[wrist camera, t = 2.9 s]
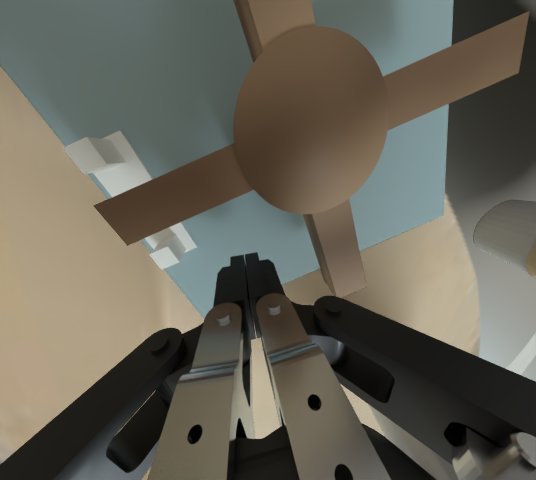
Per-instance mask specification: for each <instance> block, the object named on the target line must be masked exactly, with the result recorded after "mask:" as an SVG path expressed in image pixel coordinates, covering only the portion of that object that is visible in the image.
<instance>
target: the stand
mask: <svg viewBox="0 0 536 480" xmlns="http://www.w3.org/2000/svg"><path fill="white" fill-rule="evenodd" d="M311 3H312V8H313V14H314V19H315V24H316V26H326V27H330V28H335V29H338V30H341V31H343V32H345V33H348V34H349V35H351V36H352V37H354V38H355V39H357V40H358V41H359V42H360V43H361V44H362V45H363V46H364V47H366V48H367V50H368V51H369V52H370V54H371V55H372V56H373V57H374V59H375V61H376V63H377V64H378V66H379V68H380V70H381V73H382V75H383V76H385V75H387V74H390V73H392V72H394V71H396V70H399V69H401V68H403V67H405V66H407V65H410V64H412V63H414V62H416V61H419V60H421V59H423V58H425V57H428V56H430V55H432V54H434V53H437V52H439V51H441V50H443V49H446V48H448V47H450V46H451V42H452V21H453V0H311ZM252 65H253V60H252V57H251V54H250V50H249V47H248V44H247V41H246V38H245V35H244V32H243V29H242V26H241V23H240V20H239V17H238V13H237V10H236V7H235V4H234V1H233V0H0V66H1V67H2V68H3V69H4V71H5V72H6V73H7V74H8V76H9V77H10V78H11V79H12V80H13V82H14V83H15V84H16V85H17V87H18V88H19V89H20V90H21V92H22V93H23V94H24V95H25V97H26V98H27V99H28V100H29V102H30V103H31V104H32V105H33V107H34V108H35V109H36V110H37V112H38V113H39V114H40V115H41V117H42V118H43V119H44V120H45V121H46V123H47V124H48V125H49V126H50V128H51V129H52V130H53V131H54V133H55V134H56V135H57V136H58V138H59V139H60V140H61V141H62V143H63V144H64V145H65V147H63V149H64V151H65V152H66V153H67V154H68V156H69V157H70V158H71V159H72V160H73V162H74V163H75V164H76V165H77V167H78V168H79V169H80V170H81V172H82V173H83V174H88V175H89V176H90V177H91V179H92V180H93V181H94V182H95V184H96V185H97V186H98V187H99V189H100V190H101V191H102V192H103V194H104V195H105V196H106V197H107V199H110V198H112V197H114V196H117V195H119V194H121V193H123V192H125V191H128V190H130V189H132V188H134V187H137V186H139V185H141V184H143V183H146V182H148V181H150V180H152V179H155V178H157V177H159V176H161V175H164V174H166V173H168V172H170V171H172V170H175V169H177V168H179V167H181V166H184V165H186V164H188V163H190V162H193V161H195V160H197V159H199V158H202V157H204V156H206V155H208V154H211V153H213V152H215V151H217V150H219V149H222V148H224V147H226V146H228V145H231V144H233V143H234V136H233V121H234V112H235V106H236V102H237V98H238V94H239V91H240V88H241V86H242V83H243V81H244V79H245V77H246V75H247V73H248V71H249V69H250V68H251V66H252ZM448 105H449V104H447V105H445V106H443V107H440V108H438V109H436V110H433V111H431V112H429V113H427V114H424V115H422V116H420V117H418V118H415V119H413V120H411V121H409V122H406V123H404V124H402V125H400V126H397V127H395V128H393V129H390V130H388V131H387V136H386V141H385V144H384V148H383V151H382V153H381V156H380V158H379V161H378V163H377V164H376V166H375V168H374V170H373V172H372V173H371V175H370V176H369V178H368V179H367V180H366V182H365V183H364V184H363V186H362V187H361V188H360V189H359V190H358V191H357V192H356V193H355V194H354V195H352V196H351V197H350V198H349V200H350V205H351V210H352V215H353V220H354V225H355V231H356V236H357V241H358V246H359V251H362V250H364V249H366V248H369V247H371V246H373V245H376V244H378V243H380V242H383V241H385V240H387V239H390V238H392V237H394V236H397V235H399V234H401V233H403V232H406V231H408V230H410V229H413V228H415V227H417V226H420V225H422V224H424V223H427V222H429V221H431V220H434V219H436V218H438V217H441V216H443V214H444V193H445V171H446V170H445V169H446V150H447V128H448V107H449V106H448ZM141 241H142V242H143V243H144V245H145V246H146V247H147V248H148V249H149V251H150V252H151V253H150V254H149V255H150V256H151V257H152V259H153V260H154V261H155V262H156V264H157V265H158V266H159V267H160V268H161V270H163V269H165V271H166V272H167V273H168V274H169V276H170V277H171V278H172V279H173V281H174V282H175V283H176V284H177V286H178V287H179V288H180V289H181V291H182V292H183V293H184V294H185V295H186V297H187V298H188V299H189V300H190V302H191V303H192V304H193V305H194V307H195V308H196V309H197V310H198V312H199V313H200V314H201V315H202V317H203V318H205V317H206V315H207V313H208V312H209V311H210V310H211V309H212V308H213V304H214V296H215V289H216V281H217V274H218V272H219V271H220V270H221V268H222V267H227V266H230V257H232V256H238V255H244V259H245V254H249V253H255V252H258V257H259V261H260V260H266V259H269V260H270V261H271V262H273V263H274V266H275V268H276V271H277V274H278V277H279V279H280V282H281V285H283V284H285V283H288V282H290V281H292V280H295V279H297V278H299V277H301V276H304V275H306V274H308V273H311V272H313V271H315V270H318V269H320V266H319V263H318V260H317V257H316V254H315V251H314V248H313V245H312V242H311V239H310V235H309V232H308V229H307V226H306V223H305V220H304V217H303V214H295V213H290V212H286V211H283V210H281V209H278V208H276V207H274V206H273V205H271V204H269V203H268V202H266V201H265V200H264V199H263V198H262V197H261V196H259V195H258V194H257V192H256V191H255V190H252V191H250V192H248V193H246V194H243V195H241V196H239V197H236V198H234V199H232V200H230V201H227V202H225V203H223V204H221V205H218V206H216V207H214V208H212V209H209V210H207V211H205V212H202V213H200V214H198V215H196V216H193V217H191V218H189V219H187V220H184V221H182V222H180V223H178V224H175V225H173V226H171V227H169V228H166V229H164V230H162V231H159V232H157V233H155V234H153V235H150V236H148V237H146V238H144V239H141ZM245 264H246V262H245Z"/></svg>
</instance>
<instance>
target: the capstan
mask: <svg viewBox="0 0 536 480" xmlns="http://www.w3.org/2000/svg"><path fill="white" fill-rule="evenodd" d="M233 1H234V4H235V7H236V10H237V13H238V17H239V20H240V23H241V26H242V29H243V32H244V35H245V38H246V41H247V44H248V47H249V50H250V54H251V57H252V60H253V65H252V66H251V68H250V69H249V71H248V73H247V75H246V77H245V79H244V81H243V83H242V86H241V88H240V91H239V94H238V98H237V102H236V106H235V112H234V121H233V136H234V143H233V144H231V145H228V146H226V147H224V148H222V149H219V150H217V151H215V152H213V153H211V154H208V155H206V156H204V157H202V158H199V159H197V160H195V161H193V162H190V163H188V164H186V165H184V166H181V167H179V168H177V169H175V170H172V171H170V172H168V173H166V174H164V175H161V176H159V177H157V178H155V179H152V180H150V181H148V182H146V183H143V184H141V185H139V186H137V187H134V188H132V189H130V190H128V191H125V192H123V193H121V194H119V195H117V196H114V197H112V198H110V199H108V200H105V201H103V202H101V203H99V204H96V205H94V207H95V208H96V209H97V211H98V212H99V213H100V214H101V215H102V216H103V218H104V219H105V220H106V221H107V222H108V223H109V225H110V226H111V227H112V228H113V229H114V230H115V232H116V233H117V234H118V235H119V236H120V237H121V239H122V240H123V241H124V242H125V243H126V244H127V246H128V245H130V244H132V243H135V242H137V241H139V240H141V239H144V238H146V237H148V236H150V235H153V234H155V233H157V232H159V231H162V230H164V229H166V228H169V227H171V226H173V225H175V224H178V223H180V222H182V221H184V220H187V219H189V218H191V217H193V216H196V215H198V214H200V213H202V212H205V211H207V210H209V209H212V208H214V207H216V206H218V205H221V204H223V203H225V202H227V201H230V200H232V199H234V198H236V197H239V196H241V195H243V194H246V193H248V192H250V191H252V190H255V191H256V192H257V194H258V195H259V196H261V197H262V198H263V199H264V200H265V201H266V202H268V203H269V204H271V205H273V206H274V207H276V208H278V209H281V210H283V211H286V212H290V213H295V214H303V217H304V220H305V223H306V226H307V229H308V232H309V235H310V239H311V242H312V245H313V248H314V251H315V254H316V257H317V260H318V263H319V266H320V269H321V272H322V276H323V279H324V281H325V283H326V284H327V285H328V287H329V288H330V290H331V291H332V292H333V294H334V295H335V296H336V297H339V298H342V297H345V296H347V295H349V294H352V293H354V292H356V291H359V290H361V289H363V288H366V282H365V277H364V272H363V267H362V262H361V256H360V251H359V246H358V241H357V236H356V231H355V225H354V220H353V215H352V210H351V205H350V200H349V198H350V197H351V196H352V195H354V194H355V193H356V192H357V191H358V190H359V189H360V188H361V187H362V186H363V184H364V183H365V182H366V180H367V179H368V178H369V176H370V175H371V173H372V172H373V170H374V168H375V166H376V164H377V163H378V161H379V158H380V156H381V153H382V151H383V148H384V144H385V141H386V136H387V131H388V130H390V129H393V128H395V127H397V126H400V125H402V124H404V123H406V122H409V121H411V120H413V119H415V118H418V117H420V116H422V115H424V114H427V113H429V112H431V111H433V110H436V109H438V108H440V107H443V106H445V105H447V104H449V103H451V102H454V101H456V100H458V99H460V98H463V97H465V96H467V95H470V94H472V93H474V92H476V91H479V90H481V89H483V88H486V87H488V86H490V85H492V84H494V83H497V82H499V81H501V80H503V79H506V78H508V77H510V76H513V75H515V74H517V73H519V68H520V62H521V57H522V51H523V45H524V40H525V34H526V28H527V23H528V17H529V12H526V13H524V14H522V15H519V16H517V17H515V18H513V19H510V20H508V21H506V22H504V23H502V24H499V25H497V26H495V27H493V28H490V29H488V30H486V31H484V32H481V33H479V34H477V35H475V36H472V37H471V38H468V39H466V40H463V41H461V42H459V43H457V44H454V45H452V46H450V47H448V48H446V49H443V50H441V51H439V52H437V53H434V54H432V55H430V56H428V57H425V58H423V59H421V60H419V61H416V62H414V63H412V64H410V65H407V66H405V67H403V68H401V69H399V70H396V71H394V72H392V73H390V74H387V75H385V76H383V75H382V73H381V70H380V68H379V66H378V64H377V63H376V61H375V59H374V57H373V56H372V55H371V54H370V52H369V51H368V50H367V48H366V47H364V46H363V45H362V44H361V43H360V42H359V41H358V40H357V39H355V38H354V37H352V36H351V35H349V34H348V33H345V32H343V31H341V30H338V29H335V28H330V27H326V26H316V24H315V19H314V14H313V8H312V3H311V0H233Z"/></svg>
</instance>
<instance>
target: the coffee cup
mask: <svg viewBox="0 0 536 480" xmlns="http://www.w3.org/2000/svg"><path fill="white" fill-rule="evenodd" d="M473 240H474V244H475V246H476V247H478V248H479V249H481V250H483V251H485V252H487V253H489V254H491V255H493V256H495V257H497V258H499V259H501V260H503V261H505V262H507V263H509V264H511V265H513V266H516V267H518V268H520V269H522V270H524V271H526V272H528V273H529V274H530V275H531V276H532V277H534V278H536V202H534V201H520V200H509V201H505V202H502V203H500V204H498V205H497V206H495V207H493V208H492V209H491V210H490V211H488V212H487V213H486V214H485V215H484V216H483V217H482V218H481V219H480V221H479V222H478V224H477V226H476V228H475V231H474V235H473Z"/></svg>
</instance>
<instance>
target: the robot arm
mask: <svg viewBox="0 0 536 480" xmlns="http://www.w3.org/2000/svg"><path fill="white" fill-rule="evenodd" d="M245 262H246V264H245ZM253 319H254V320H253ZM254 324H255V328H254ZM255 329H256V335H257V338H260V337H261V340H262V346H263V351H264V356H265V361H266V365H267V369H268V374H269V378H270V382H271V387H272V391H273V395H274V400H275V404H276V408H277V413H278V418H279V423H280V428H278V429H277V430H275V431H274V432H272V433H271V434H269V435H268V436H266V437H265V438H262V439H255V430H254V421H253V407H252V356H251V352H252V349H251V340H252V339H256V337H255ZM340 384H342V385H343V386H344V387H346V388H347V389H349V390H350V391H351V392H353V393H354V394H355V395H357V396H358V397H359V398H361V399H362V400H364V401H365V402H366V403H368V405H369V407H370V409H371V410H372V412H373V414H374V416H375V418H376V420H377V422H378V424H379V426H380V427H381V429H382V431H383V433H384V435H385V437H384V436H383V435H381V434H380V433H378V432H377V431H375V430H374V429H372V428H370V427H368V426H366V425H364V424H362V423H361V422H360V420H359V418H358V417H357V415H356V413H355V411H354V409H353V407H352V405H351V403H350V402H349V400H348V398H347V396H346V394H345V392H344V390H343V389H342V387H341V385H340ZM155 390H156V391H155ZM154 391H155V392H154ZM153 392H154V393H153ZM152 393H153V395H152ZM151 395H152V396H151ZM150 396H151V397H150ZM149 397H150V398H149ZM148 398H149V399H148ZM147 399H148V400H147ZM146 400H147V401H146ZM145 401H146V402H145ZM144 402H145V404H144V405H143V403H144ZM142 405H143V406H142ZM141 406H142V407H141ZM140 407H141V408H140ZM139 408H140V409H139ZM138 409H139V410H138ZM137 410H138V411H137ZM136 411H137V413H136V414H135V415H134V413H135V412H136ZM133 415H134V416H133ZM132 416H133V417H132ZM131 417H132V418H131ZM130 418H131V419H130ZM129 419H130V420H129ZM128 420H129V421H128ZM127 421H128V423H127V424H126V425H125V423H126V422H127ZM124 425H125V426H124ZM123 426H124V427H123ZM122 427H123V428H122ZM121 428H122V429H121ZM120 429H121V430H120ZM119 430H120V431H119ZM118 431H119V433H118V434H117V432H118ZM151 465H152V466H151ZM150 467H151V469H150V472H149V475H148V478H147V480H536V382H535V381H533V380H530V379H528V378H526V377H523V376H521V375H519V374H516V373H514V372H512V371H509V370H507V369H505V368H502V367H500V366H498V365H495V364H493V363H491V362H488V361H486V360H483V359H481V358H479V357H477V356H475V355H472V354H470V353H468V352H465V351H463V350H461V349H458V348H456V347H454V346H451V345H449V344H447V343H444V342H442V341H440V340H437V339H435V338H433V337H430V336H428V335H426V334H423V333H421V332H419V331H416V330H414V329H412V328H409V327H407V326H405V325H402V324H400V323H398V322H396V321H393V320H391V319H389V318H386V317H384V316H382V315H379V314H377V313H375V312H372V311H370V310H368V309H365V308H363V307H361V306H358V305H356V304H354V303H351V302H349V301H347V300H344V299H342V298H339V297H336V296H324V297H321V298H319V299H318V300H317V301H316V302H315V304H314V306H311V305H300V304H296V303H294V302H292V301H290V300H289V298H288V297H286V295H285V293H284V290H283V288H282V285H281V282H280V279H279V277H278V274H277V271H276V268H275V266H274V263H273V262H271V261H270V260H269V259H266V260H260V261H259V257H258V252H255V253H249V254H245V259H244V255H238V256H232V257H230V266H227V267H222V268H221V270H220V271H219V272H218V274H217V281H216V289H215V296H214V304H213V308H212V309H211V310H210V311H209V312H208V313H207V315H206V317H205V319H204V323H202V324H201V325H200V326H198V327H196V328H194V329H192V330H190V331H188V332H186V333H183V334H181V332H180V331H179V330H178V329H176V328H166V329H162V330H160V331H158V332H156V333H154V334H153V335H151V336H150V337H149V338H147V339H146V340H145V341H144V342H143V343H142V344H140V345H139V346H138V347H137V348H136V349H135V350H133V351H132V352H131V353H130V354H129V355H128V356H126V357H125V358H124V359H123V360H122V361H121V362H119V363H118V364H117V365H116V366H115V367H114V368H112V369H111V370H110V371H109V372H108V373H107V374H105V375H104V376H103V377H102V378H101V379H100V380H98V381H97V382H96V383H95V384H94V385H93V386H91V387H90V388H89V389H88V390H87V391H86V392H84V393H83V394H82V395H81V396H80V397H79V398H77V399H76V400H75V401H74V402H73V403H72V404H70V405H69V406H68V407H67V408H66V409H65V410H63V411H62V412H61V413H60V414H59V415H58V416H56V417H55V418H54V419H53V420H52V421H51V422H49V423H48V424H47V425H46V426H45V427H44V428H42V429H41V430H40V431H39V432H38V433H37V434H35V435H34V436H33V437H32V438H31V439H30V440H28V441H27V442H26V443H25V444H24V445H23V446H21V447H20V448H19V449H18V450H17V451H16V452H14V453H13V454H12V455H11V456H10V457H9V458H8V459H6V460H5V461H4V462H3V463H2V464H1V465H0V480H141V479H142V478H143V477H144V475H145V474H146V472H147V471H148V470H149V468H150Z"/></svg>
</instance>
